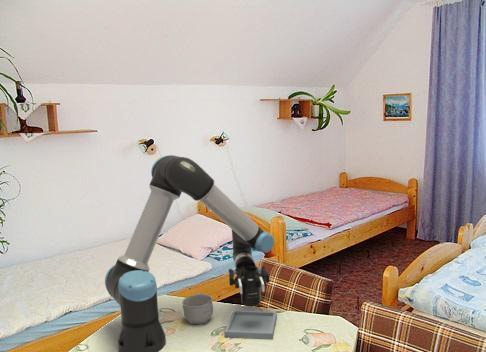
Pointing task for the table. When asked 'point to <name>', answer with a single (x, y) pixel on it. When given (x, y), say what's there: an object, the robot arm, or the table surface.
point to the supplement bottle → (250, 287)
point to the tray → (251, 324)
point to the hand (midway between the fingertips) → (252, 288)
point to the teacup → (198, 308)
